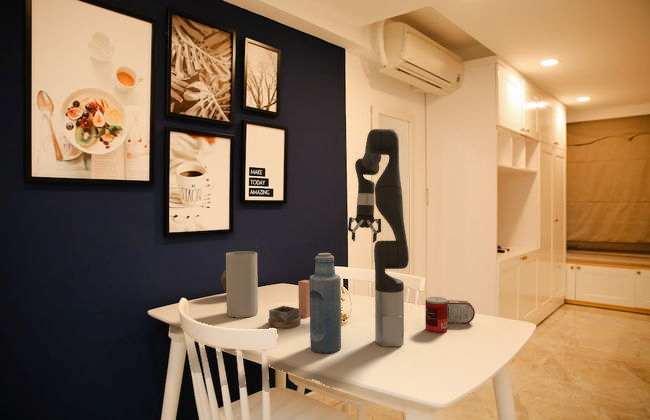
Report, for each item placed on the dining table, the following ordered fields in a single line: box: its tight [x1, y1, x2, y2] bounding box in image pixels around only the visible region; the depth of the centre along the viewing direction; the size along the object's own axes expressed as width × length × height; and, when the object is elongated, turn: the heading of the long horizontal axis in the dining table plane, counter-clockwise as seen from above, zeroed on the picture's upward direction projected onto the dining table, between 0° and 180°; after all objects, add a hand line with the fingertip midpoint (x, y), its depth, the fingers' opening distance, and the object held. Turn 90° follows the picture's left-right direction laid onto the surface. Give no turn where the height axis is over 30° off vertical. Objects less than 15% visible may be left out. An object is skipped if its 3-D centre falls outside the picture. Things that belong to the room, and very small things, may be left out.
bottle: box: [308, 252, 342, 355], centre depth 132 cm, size 10×10×30 cm
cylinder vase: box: [225, 250, 259, 319], centre depth 172 cm, size 12×12×25 cm
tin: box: [447, 299, 476, 325], centre depth 158 cm, size 15×3×8 cm, turn 84°
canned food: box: [424, 296, 449, 334], centre depth 150 cm, size 8×8×11 cm
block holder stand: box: [267, 305, 301, 330], centre depth 158 cm, size 12×12×6 cm
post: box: [297, 279, 310, 319], centre depth 169 cm, size 4×4×14 cm
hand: (363, 241), depth 182 cm, fingers open, 8 cm apart
